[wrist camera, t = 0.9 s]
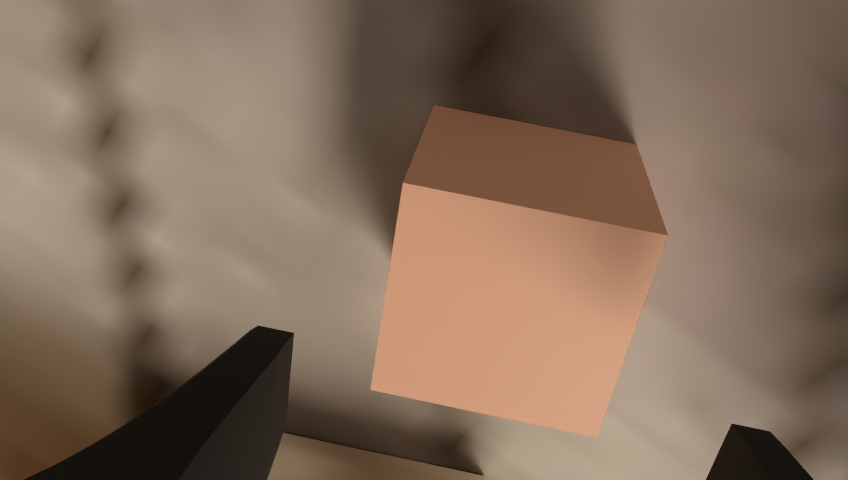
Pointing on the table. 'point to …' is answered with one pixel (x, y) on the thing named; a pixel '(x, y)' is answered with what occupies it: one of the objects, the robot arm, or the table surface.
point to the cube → (517, 270)
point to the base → (350, 464)
